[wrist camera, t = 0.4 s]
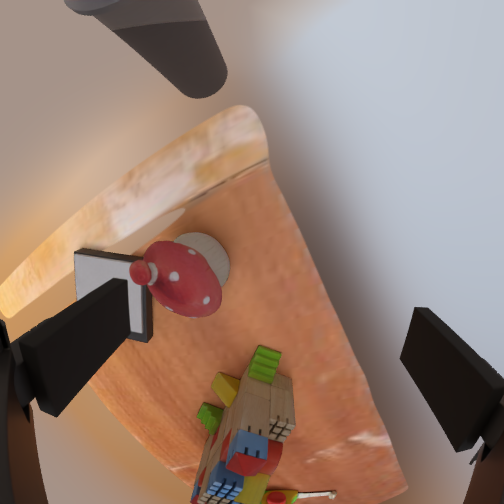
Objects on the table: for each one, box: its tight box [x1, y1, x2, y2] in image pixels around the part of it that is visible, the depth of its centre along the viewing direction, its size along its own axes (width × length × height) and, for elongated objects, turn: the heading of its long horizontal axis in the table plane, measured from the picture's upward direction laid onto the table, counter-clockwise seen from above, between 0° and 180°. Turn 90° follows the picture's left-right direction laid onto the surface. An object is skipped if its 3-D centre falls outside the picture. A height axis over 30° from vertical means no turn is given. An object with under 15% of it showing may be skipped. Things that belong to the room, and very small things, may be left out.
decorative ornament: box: [129, 232, 230, 318], centre depth 32 cm, size 9×7×15 cm
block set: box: [190, 345, 296, 504], centre depth 36 cm, size 28×14×19 cm, turn 157°
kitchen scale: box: [74, 248, 153, 343], centre depth 40 cm, size 12×12×3 cm
